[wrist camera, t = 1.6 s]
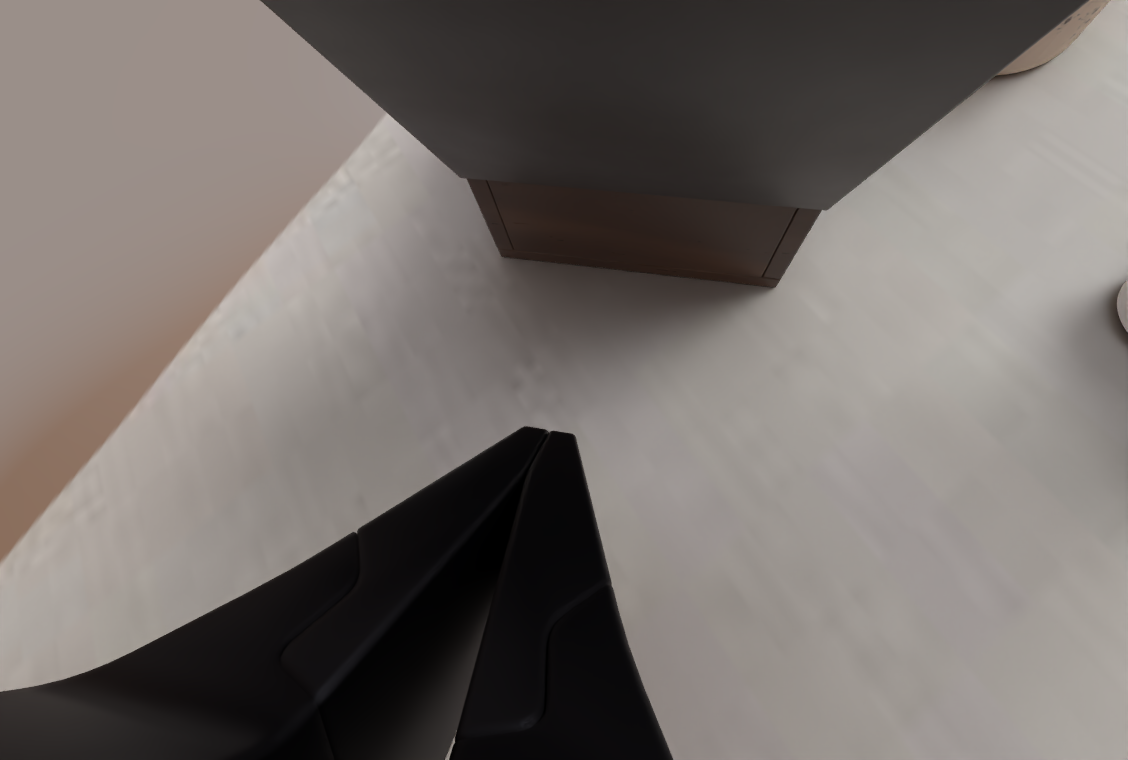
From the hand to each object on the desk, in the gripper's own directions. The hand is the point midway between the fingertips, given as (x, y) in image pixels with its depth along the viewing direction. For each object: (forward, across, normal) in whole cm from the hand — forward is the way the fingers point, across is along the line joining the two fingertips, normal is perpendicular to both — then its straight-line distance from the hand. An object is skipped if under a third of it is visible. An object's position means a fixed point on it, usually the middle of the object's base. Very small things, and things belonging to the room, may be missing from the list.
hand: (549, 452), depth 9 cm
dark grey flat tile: (+8, 0, -5) cm, 9 cm away
